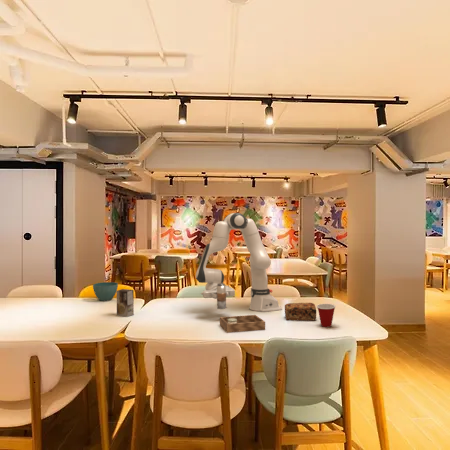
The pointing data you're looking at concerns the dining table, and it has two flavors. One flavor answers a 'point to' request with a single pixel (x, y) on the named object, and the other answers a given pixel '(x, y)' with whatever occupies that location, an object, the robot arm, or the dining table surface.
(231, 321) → the jar
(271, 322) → the dining table surface
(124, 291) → the coffee box
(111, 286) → the teal bowl
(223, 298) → the canister
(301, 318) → the bread
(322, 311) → the plastic cup
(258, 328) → the crate
